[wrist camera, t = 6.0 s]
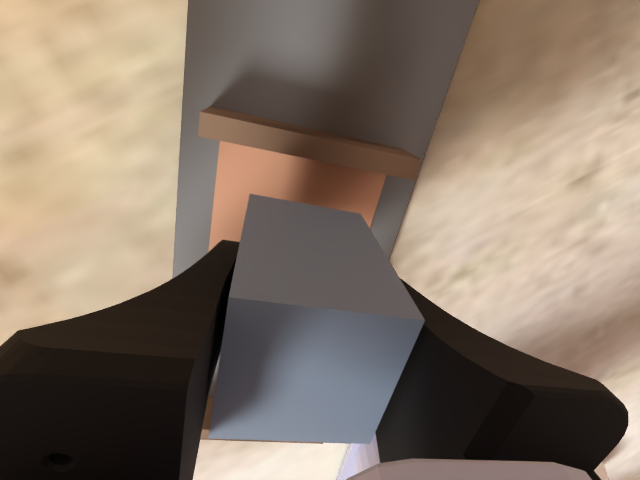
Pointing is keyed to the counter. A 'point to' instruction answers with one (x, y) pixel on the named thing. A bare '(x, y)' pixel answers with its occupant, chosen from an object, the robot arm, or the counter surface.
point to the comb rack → (308, 112)
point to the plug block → (310, 328)
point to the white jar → (601, 472)
